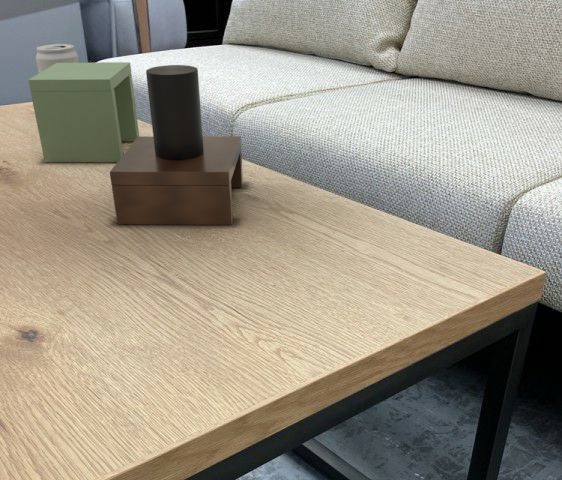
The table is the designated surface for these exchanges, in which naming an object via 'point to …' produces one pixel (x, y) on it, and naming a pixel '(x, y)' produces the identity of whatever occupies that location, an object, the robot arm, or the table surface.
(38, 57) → the beverage can
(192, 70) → the black tin
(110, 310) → the table surface
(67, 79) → the green open cubby
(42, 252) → the table surface
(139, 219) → the low shelf
